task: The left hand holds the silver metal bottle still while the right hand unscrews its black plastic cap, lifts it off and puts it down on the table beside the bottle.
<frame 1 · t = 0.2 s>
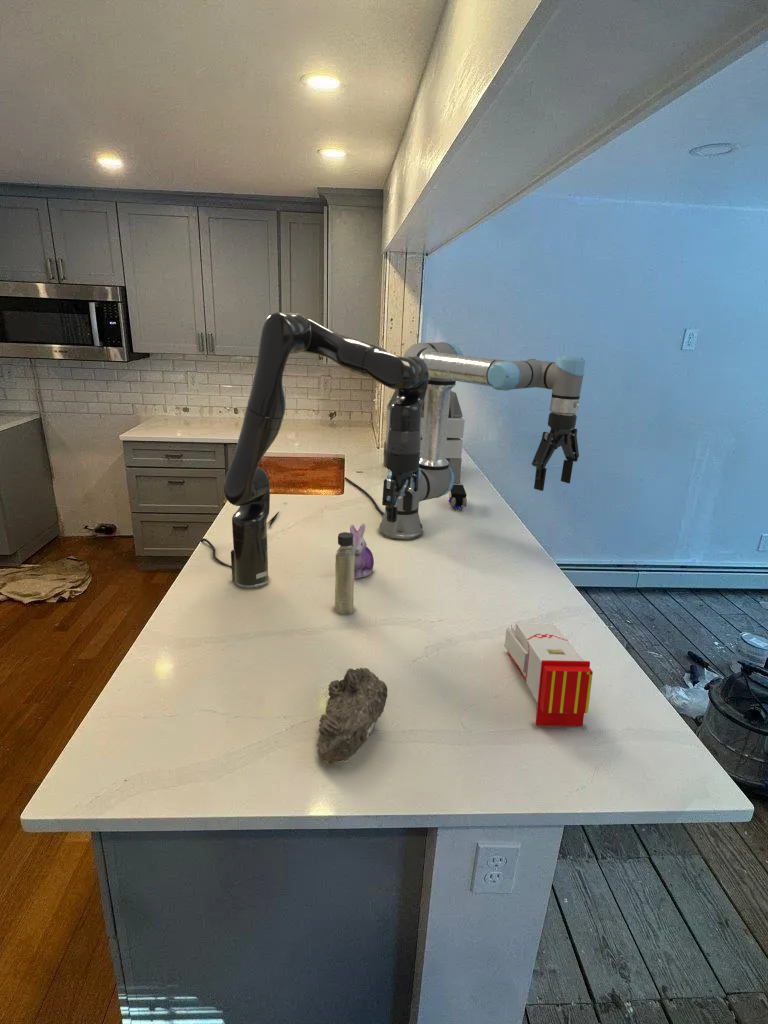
left hand: (399, 516, 133), 29 cm above the counter, tool pointing down, fingers open, 8 cm apart
right hand: (552, 485, 166), 28 cm above the counter, tool pointing down, fingers open, 13 cm apart
fossil: (352, 726, 107), on the counter
figurine: (359, 572, 169), on the counter
grey wooden crate: (419, 473, 275), on the counter
toy: (538, 683, 122), on the counter
bottle: (344, 609, 148), on the counter
figurine character: (456, 506, 231), on the counter
cap: (345, 536, 141), point 21 cm above the counter, screwed on, not yet turned
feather: (277, 515, 212), on the counter
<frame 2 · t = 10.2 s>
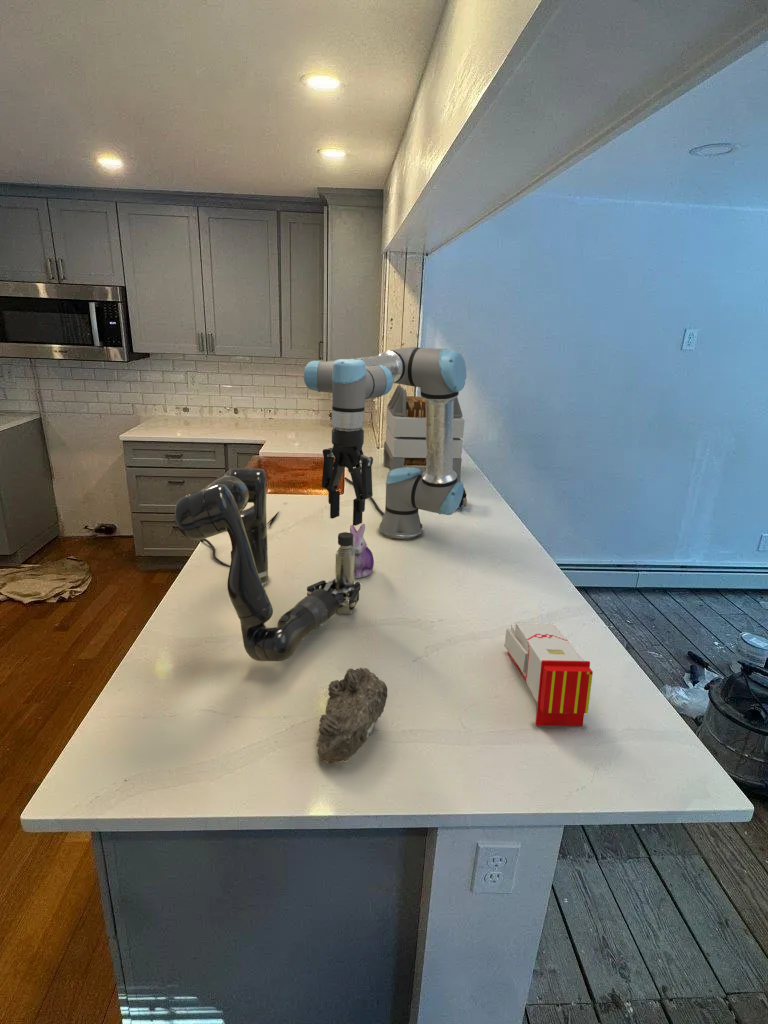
left hand: (349, 582, 148), 7 cm above the counter, tool horizontal, fingers closed on bottle, 5 cm apart
right hand: (346, 520, 140), 25 cm above the counter, tool pointing down, fingers open, 7 cm apart
bottle: (344, 609, 148), on the counter, touching left hand
everything else where it was.
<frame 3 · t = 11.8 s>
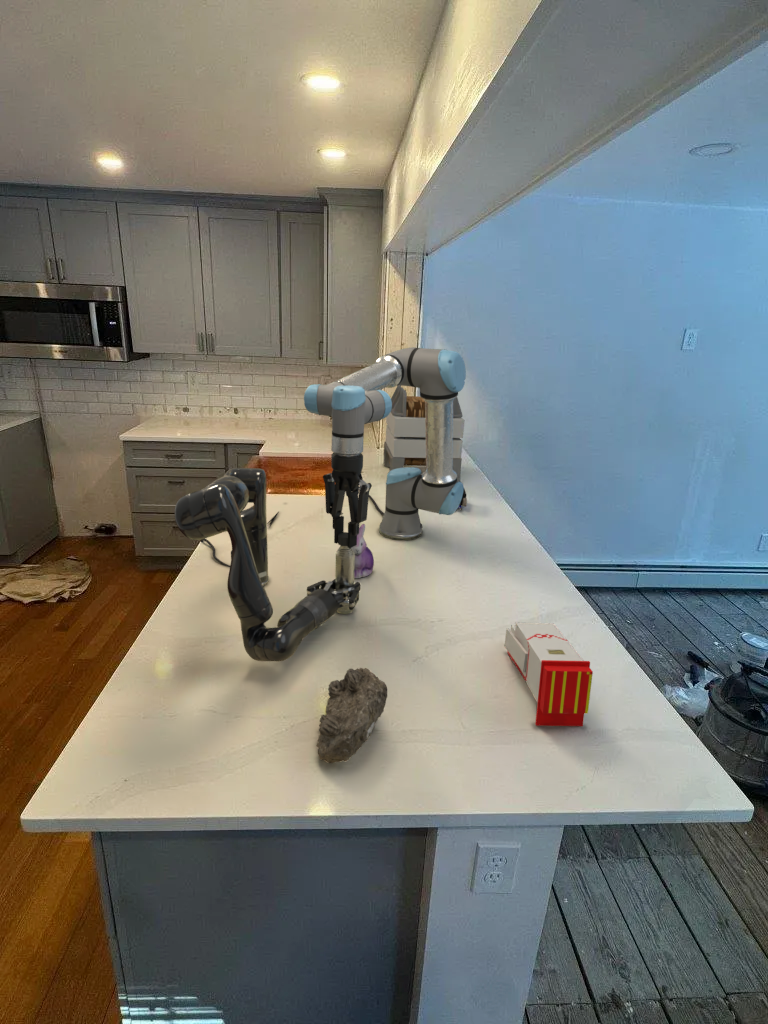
left hand: (349, 582, 148), 7 cm above the counter, tool horizontal, fingers closed on bottle, 5 cm apart
right hand: (345, 543, 142), 19 cm above the counter, tool pointing down, fingers closed on cap, 4 cm apart
bottle: (344, 609, 148), on the counter, touching left hand
cap: (345, 536, 141), point 21 cm above the counter, screwed on, not yet turned, touching right hand
everything else where it was.
when the right hand's fingers open (1 cm above the counter, at t = 28.4 s): cap drops 1 cm, point 2 cm above the counter.
when the left hand's fingers open (7 cm above the counter, at t = 29.7 s): bottle stays where it is, on the counter.
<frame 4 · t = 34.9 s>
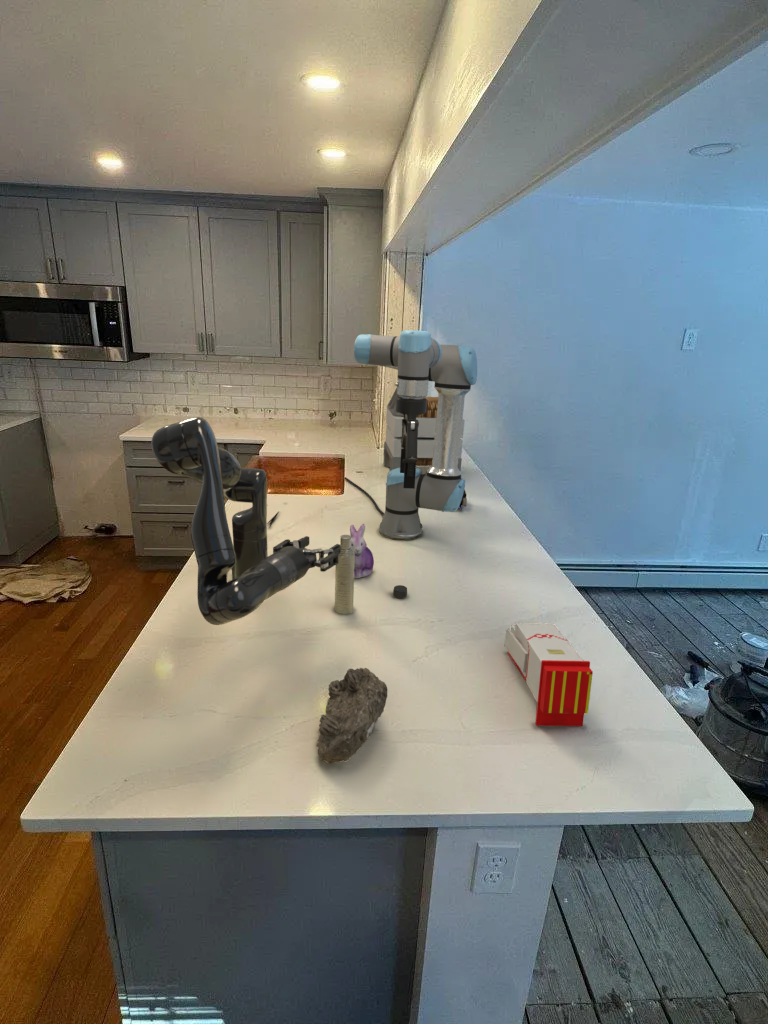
left hand: (323, 543, 132), 22 cm above the counter, tool horizontal, fingers open, 8 cm apart
right hand: (406, 480, 146), 33 cm above the counter, tool pointing down, fingers open, 13 cm apart
bottle: (344, 609, 148), on the counter
cap: (400, 589, 156), point 2 cm above the counter, off its thread
everything else where it was.
at the end: cap came off its thread; cap point 2.0 cm above the counter; the left hand is holding nothing; the right hand is holding nothing; bottle tilted 0°; bottle moved 0.0 cm from its start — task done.
